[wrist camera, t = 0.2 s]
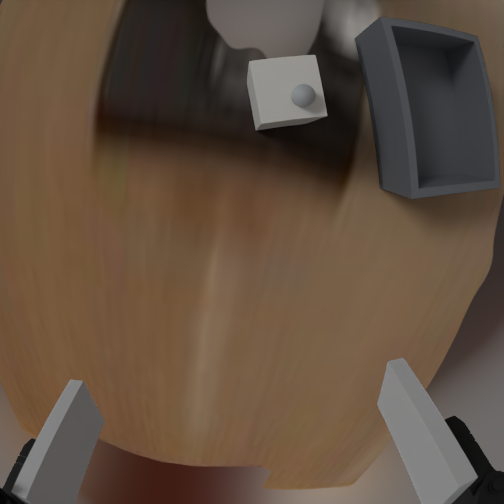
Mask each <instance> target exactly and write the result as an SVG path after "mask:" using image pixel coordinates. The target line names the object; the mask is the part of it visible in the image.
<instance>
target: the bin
mask: <svg viewBox="0 0 504 504" xmlns="http://www.w3.org/2000/svg"><path fill="white" fill-rule="evenodd" d="M355 42H356V45H357V49H358V54H359V58H360V62H361V66H362V71H363V76H364V80H365V85H366V90H367V95H368V101H369V106H370V112H371V118H372V125H373V131H374V138H375V146H376V154H377V162H378V171H379V182H380V189H383V190H386V191H389V192H392V193H395V194H398V195H401V196H404V197H407V198H410V199H417V198H424V197H431V196H439V195H446V194H454V193H462V192H470V191H478V190H486V189H495V188H500V170H499V151H498V139H497V129H496V121H495V113H494V106H493V100H492V94H491V89H490V84H489V79H488V74H487V70H486V66H485V62H484V58H483V54H482V50H481V46H480V43H479V40H478V36H475V35H471V34H468V33H464V32H461V31H457V30H453V29H449V28H445V27H440V26H435V25H431V24H426V23H420V22H414V21H408V20H402V19H394V18H386V17H380V18H378V19H377V20H376V21H375V22H374V23H372V24H371V25H370V26H369V27H368V28H366V29H365V30H364V31H363V32H362V33H360V34H359V35H358V36H357V37H356V38H355Z"/></svg>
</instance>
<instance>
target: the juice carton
mask: <svg viewBox="0 0 504 504" xmlns="http://www.w3.org/2000/svg"><path fill="white" fill-rule="evenodd" d="M247 86H248V91H249V97H250V102H251V107H252V113H253V118H254V124H255V129H256V131H257V130H263V129H270V128H277V127H284V126H292V125H300V124H307V123H310V122H312V121H315V120H318V119H320V118H323V117H326V116H327V110H326V105H325V99H324V94H323V89H322V84H321V79H320V74H319V69H318V65H317V60H316V56H315V55H305V56H291V57H280V58H271V59H262V60H255V61H249V68H248V77H247Z"/></svg>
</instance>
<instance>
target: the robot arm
mask: <svg viewBox="0 0 504 504" xmlns="http://www.w3.org/2000/svg"><path fill="white" fill-rule="evenodd" d="M377 405H378V408H379V410H380V412H381V414H382V416H383V418H384V420H385V422H386V425H387V427H388V429H389V431H390V433H391V435H392V438H393V440H394V442H395V444H396V446H397V449H398V451H399V453H400V455H401V457H402V460H403V462H404V464H405V466H406V469H407V471H408V473H409V476H410V478H411V480H412V482H413V485H414V487H415V489H416V492H417V494H418V497H419V499H420V501H421V504H504V472H501V471H496V470H495V469H494V468H493V467H492V466H491V464H490V463H489V461H488V460H487V458H486V456H485V455H484V453H483V451H482V450H481V448H480V446H479V445H478V443H477V442H476V441H475V439H474V437H473V436H472V434H470V431H469V429H468V428H467V426H466V425H465V423H464V422H462V421H461V420H460V419H458V418H457V417H456V416H452V417H450V418H447V419H445V420H444V419H443V417H442V415H441V414H440V412H439V411H438V409H437V408H436V406H435V405H434V403H433V401H432V400H431V398H430V397H429V395H428V394H427V392H426V391H425V389H424V388H423V386H422V385H421V383H420V382H419V380H418V379H417V377H416V376H415V374H414V373H413V371H412V370H411V368H410V367H409V365H408V364H407V362H406V361H405V360H404V358H400V359H396V360H392V361H388V363H387V367H386V372H385V376H384V380H383V384H382V388H381V392H380V396H379V399H378V403H377ZM104 422H105V420H104V418H103V417H102V415H101V413H100V411H99V410H98V408H97V406H96V404H95V402H94V401H93V399H92V397H91V395H90V393H89V391H88V389H87V387H86V385H85V383H84V381H79V380H70V381H69V382H68V384H67V386H66V387H65V389H64V391H63V392H62V394H61V396H60V398H59V399H58V401H57V403H56V405H55V406H54V408H53V410H52V412H51V413H50V415H49V417H48V419H47V421H46V422H45V424H44V426H43V428H42V430H41V432H40V434H39V435H38V437H37V439H36V440H35V439H30V440H29V441H28V442H27V443H26V444H25V445H24V447H23V449H22V451H21V452H20V456H18V458H17V460H16V463H15V464H14V466H13V468H12V471H11V472H10V474H9V477H8V479H7V481H6V483H5V485H4V487H3V488H2V489H1V488H0V504H75V501H76V498H77V495H78V492H79V489H80V486H81V483H82V480H83V478H84V474H85V472H86V469H87V466H88V463H89V461H90V458H91V455H92V453H93V450H94V447H95V445H96V442H97V440H98V437H99V434H100V432H101V429H102V427H103V424H104Z"/></svg>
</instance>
